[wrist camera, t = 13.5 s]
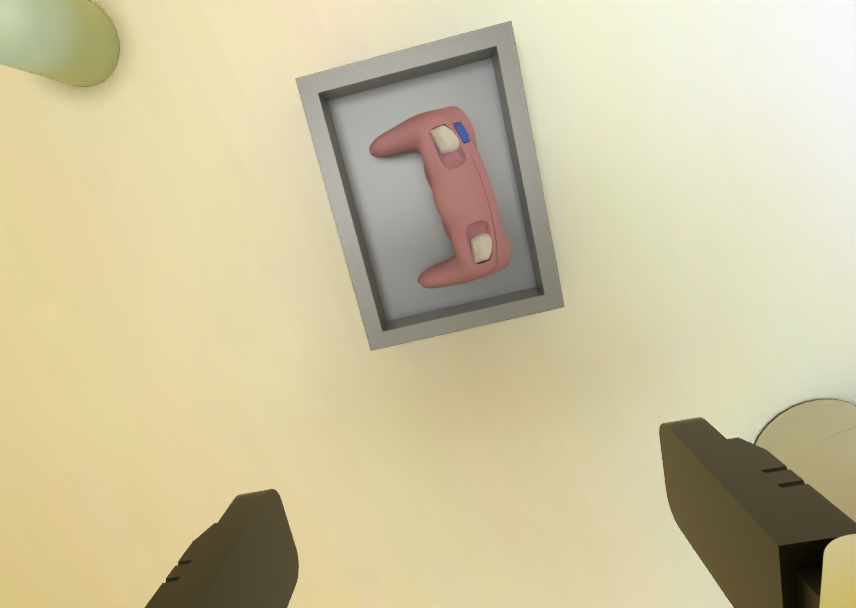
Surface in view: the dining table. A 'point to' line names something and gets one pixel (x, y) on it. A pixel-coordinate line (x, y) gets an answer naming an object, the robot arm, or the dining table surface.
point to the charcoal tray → (412, 195)
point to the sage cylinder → (59, 40)
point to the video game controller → (453, 193)
